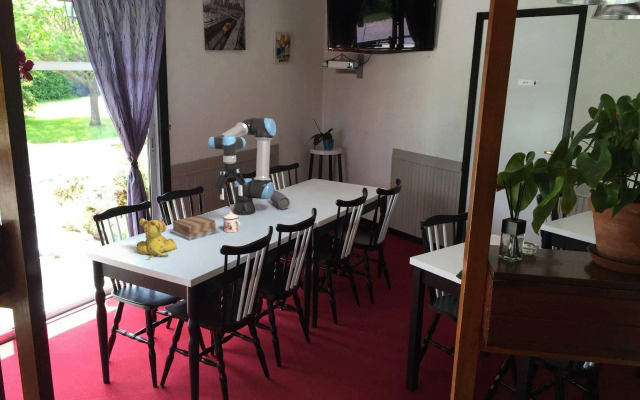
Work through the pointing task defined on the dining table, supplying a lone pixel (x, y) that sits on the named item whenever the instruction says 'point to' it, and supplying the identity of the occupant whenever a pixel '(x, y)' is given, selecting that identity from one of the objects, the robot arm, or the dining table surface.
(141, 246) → the giraffe plush
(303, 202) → the dining table surface
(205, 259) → the dining table surface
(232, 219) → the teacup with lid
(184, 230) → the plinth
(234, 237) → the dining table surface
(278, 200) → the bluetooth speaker
